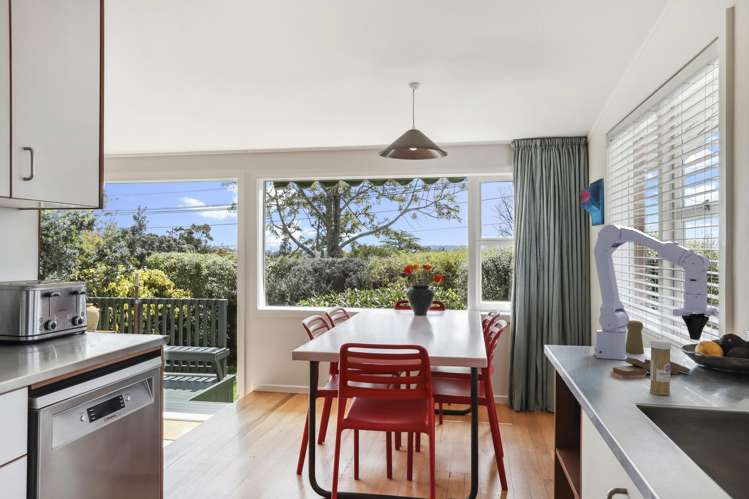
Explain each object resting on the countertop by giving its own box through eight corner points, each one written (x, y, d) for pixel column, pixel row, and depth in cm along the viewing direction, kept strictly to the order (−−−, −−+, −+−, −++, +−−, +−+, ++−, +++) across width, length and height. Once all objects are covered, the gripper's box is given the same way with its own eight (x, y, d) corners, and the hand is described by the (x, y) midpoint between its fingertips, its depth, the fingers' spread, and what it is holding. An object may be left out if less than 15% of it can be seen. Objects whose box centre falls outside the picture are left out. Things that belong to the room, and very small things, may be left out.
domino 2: (645, 379, 143) (621, 381, 141) (633, 375, 147) (610, 376, 145) (645, 374, 143) (621, 375, 141) (633, 370, 147) (610, 371, 145)
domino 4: (677, 374, 146) (655, 367, 144) (664, 371, 150) (643, 363, 148) (678, 369, 146) (657, 362, 144) (665, 366, 150) (645, 358, 148)
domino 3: (659, 374, 144) (635, 364, 143) (649, 372, 148) (625, 361, 147) (661, 369, 144) (636, 359, 143) (650, 367, 148) (627, 357, 148)
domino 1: (647, 374, 143) (625, 376, 140) (633, 370, 147) (612, 372, 144) (647, 369, 143) (625, 371, 140) (633, 365, 147) (612, 367, 144)
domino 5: (688, 373, 146) (668, 366, 144) (675, 370, 151) (655, 362, 149) (690, 368, 147) (669, 361, 144) (677, 365, 151) (657, 357, 149)
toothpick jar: (665, 397, 124) (666, 342, 124) (646, 392, 127) (647, 339, 127) (673, 393, 126) (674, 340, 126) (654, 389, 130) (655, 337, 130)
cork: (647, 354, 173) (648, 322, 173) (629, 353, 173) (630, 321, 173) (638, 350, 179) (639, 319, 179) (621, 350, 179) (622, 319, 179)
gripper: (688, 295, 144) (687, 343, 144) (727, 294, 148) (726, 340, 148) (667, 293, 151) (666, 338, 151) (705, 292, 155) (704, 336, 155)
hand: (694, 339), depth 150 cm, fingers closed
